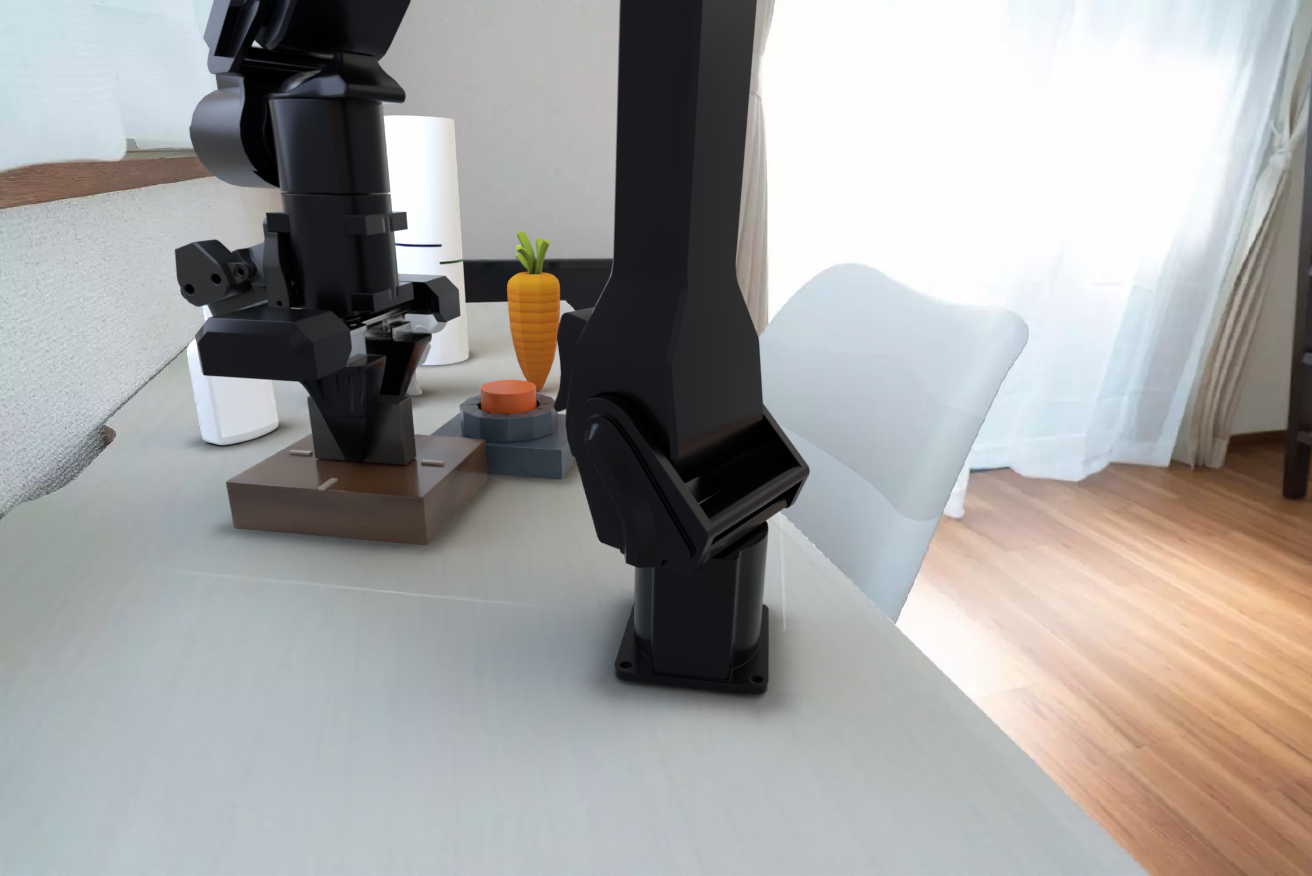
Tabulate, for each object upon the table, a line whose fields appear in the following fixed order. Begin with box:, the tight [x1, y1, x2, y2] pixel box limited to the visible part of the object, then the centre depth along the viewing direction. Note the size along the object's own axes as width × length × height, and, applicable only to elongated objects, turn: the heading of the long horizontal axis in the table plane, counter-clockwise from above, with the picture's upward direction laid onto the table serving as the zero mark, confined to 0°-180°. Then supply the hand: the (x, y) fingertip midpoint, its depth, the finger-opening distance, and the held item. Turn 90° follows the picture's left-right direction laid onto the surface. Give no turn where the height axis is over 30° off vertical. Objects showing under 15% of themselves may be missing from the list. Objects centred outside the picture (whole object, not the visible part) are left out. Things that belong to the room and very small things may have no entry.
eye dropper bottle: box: [186, 305, 280, 446], centre depth 58 cm, size 4×6×12 cm
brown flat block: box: [225, 432, 489, 546], centre depth 48 cm, size 10×12×3 cm
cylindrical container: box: [384, 115, 470, 366], centre depth 81 cm, size 7×7×25 cm
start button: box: [479, 379, 537, 414], centre depth 56 cm, size 4×4×2 cm
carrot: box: [506, 230, 561, 393], centre depth 71 cm, size 5×5×15 cm
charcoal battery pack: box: [306, 394, 416, 465], centre depth 47 cm, size 6×2×4 cm, turn 81°
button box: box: [430, 392, 576, 480], centre depth 56 cm, size 8×10×4 cm
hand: (366, 454), depth 47 cm, fingers closed
